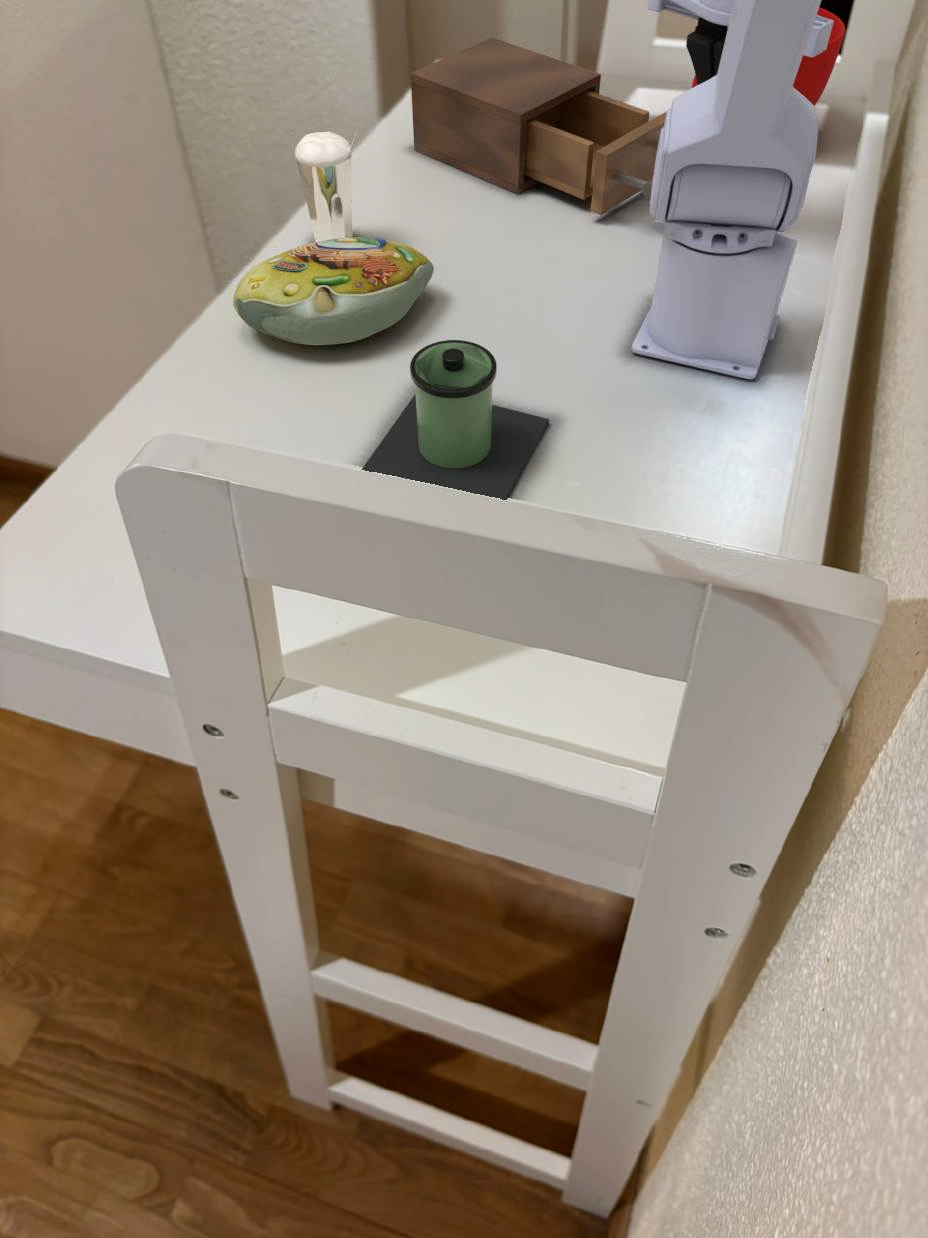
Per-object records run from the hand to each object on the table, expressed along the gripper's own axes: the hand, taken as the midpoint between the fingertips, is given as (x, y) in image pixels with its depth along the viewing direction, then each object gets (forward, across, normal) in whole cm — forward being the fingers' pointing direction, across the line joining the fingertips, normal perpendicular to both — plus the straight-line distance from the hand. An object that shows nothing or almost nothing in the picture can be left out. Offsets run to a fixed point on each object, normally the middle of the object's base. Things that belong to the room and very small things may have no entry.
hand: (713, 128), depth 76 cm
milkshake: (+9, +22, +23) cm, 33 cm away
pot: (+8, -4, +36) cm, 37 cm away
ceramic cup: (+9, +6, -18) cm, 21 cm away
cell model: (+9, +13, +31) cm, 35 cm away
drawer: (+8, +11, 0) cm, 13 cm away
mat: (+8, -4, +36) cm, 37 cm away
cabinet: (+8, +22, 0) cm, 24 cm away
